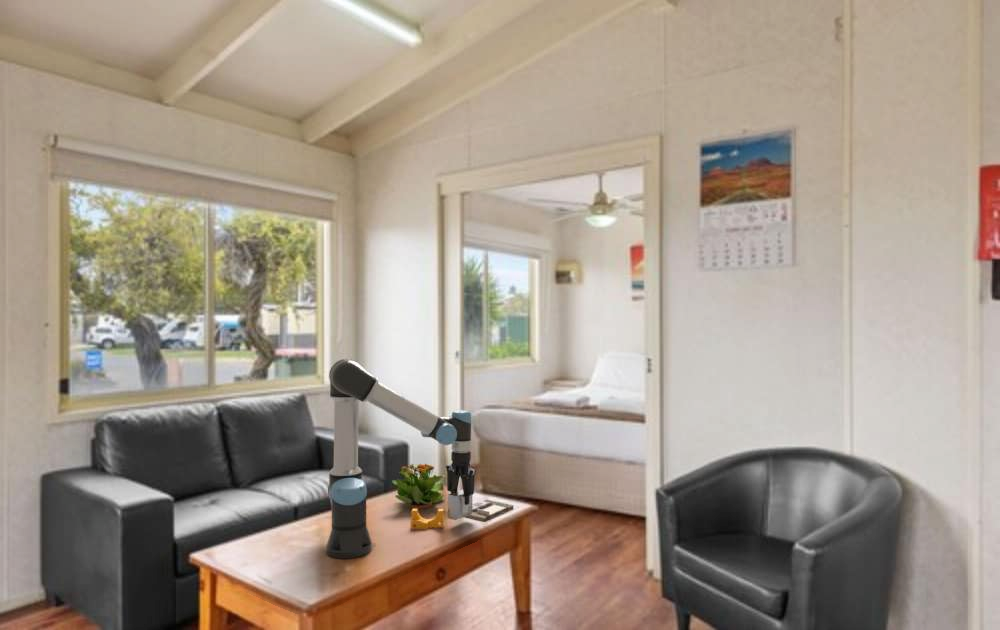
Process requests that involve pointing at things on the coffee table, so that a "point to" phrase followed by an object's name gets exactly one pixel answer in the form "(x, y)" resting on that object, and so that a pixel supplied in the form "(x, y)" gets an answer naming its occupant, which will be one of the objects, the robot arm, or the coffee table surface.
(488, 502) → the hinge board
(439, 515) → the pipe clamp
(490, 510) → the leaf seat
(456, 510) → the leaf block
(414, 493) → the potted flower
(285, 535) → the coffee table surface
